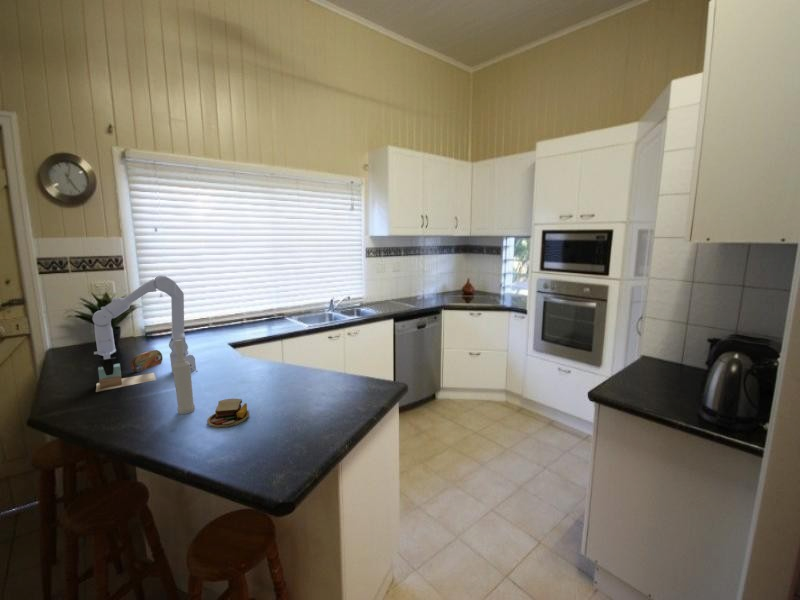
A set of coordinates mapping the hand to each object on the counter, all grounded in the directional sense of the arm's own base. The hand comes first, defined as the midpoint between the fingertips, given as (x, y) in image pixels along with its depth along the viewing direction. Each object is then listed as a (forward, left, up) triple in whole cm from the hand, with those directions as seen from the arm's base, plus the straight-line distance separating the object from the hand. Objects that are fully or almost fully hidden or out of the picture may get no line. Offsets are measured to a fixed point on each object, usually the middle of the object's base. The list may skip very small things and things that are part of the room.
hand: (109, 372), depth 154 cm
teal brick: (0, 0, -2) cm, 2 cm away
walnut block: (0, 0, -5) cm, 5 cm away
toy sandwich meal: (-69, +12, -7) cm, 70 cm away
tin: (+6, -20, -6) cm, 22 cm away
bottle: (-50, +10, -6) cm, 52 cm away
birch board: (-3, -4, -6) cm, 8 cm away
